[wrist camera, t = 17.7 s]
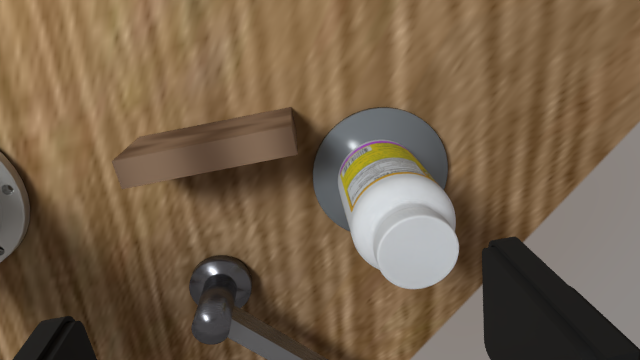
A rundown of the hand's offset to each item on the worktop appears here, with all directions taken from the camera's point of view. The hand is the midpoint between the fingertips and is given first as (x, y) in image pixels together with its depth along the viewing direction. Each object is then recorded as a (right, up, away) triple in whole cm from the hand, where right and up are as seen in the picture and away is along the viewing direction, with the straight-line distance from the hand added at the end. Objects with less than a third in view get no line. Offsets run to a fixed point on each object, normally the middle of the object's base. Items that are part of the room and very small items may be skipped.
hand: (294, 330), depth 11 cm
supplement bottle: (+5, +4, +28) cm, 28 cm away
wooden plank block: (-7, +7, +26) cm, 28 cm away
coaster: (+5, +4, +28) cm, 29 cm away
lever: (-3, -9, +32) cm, 33 cm away
